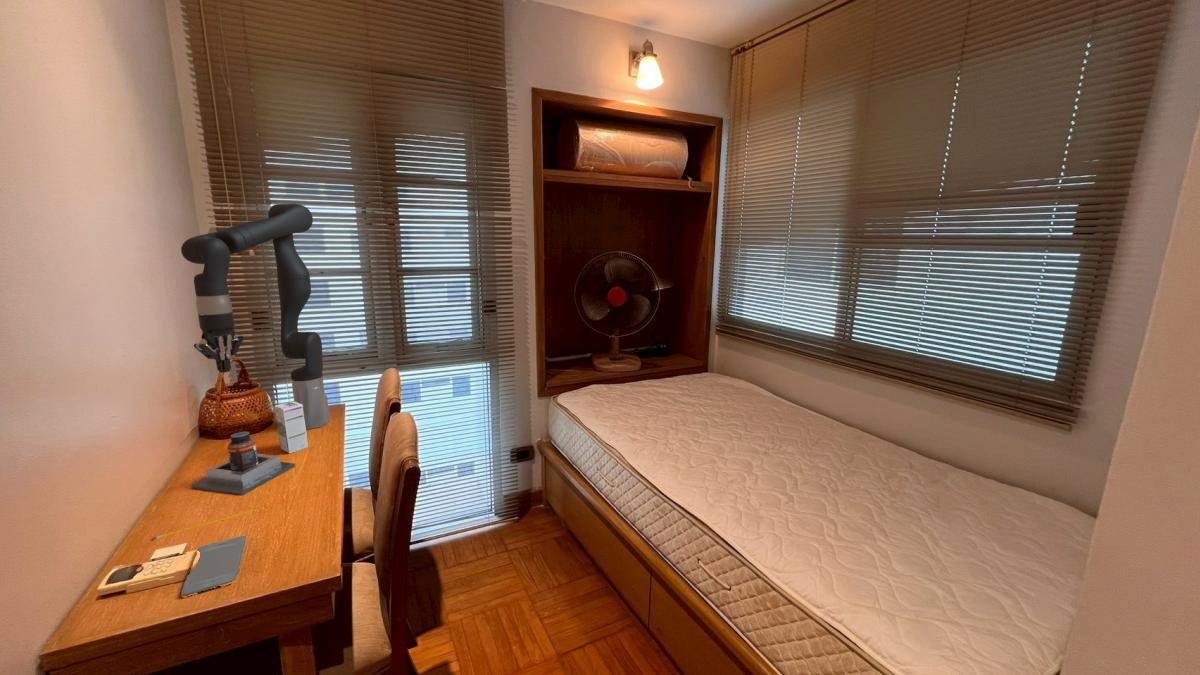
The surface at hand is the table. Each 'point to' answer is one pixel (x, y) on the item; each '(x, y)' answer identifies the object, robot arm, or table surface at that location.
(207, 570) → the phone
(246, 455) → the supplement bottle
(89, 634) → the table surface
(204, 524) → the pencil
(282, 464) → the socket
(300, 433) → the syrup box
